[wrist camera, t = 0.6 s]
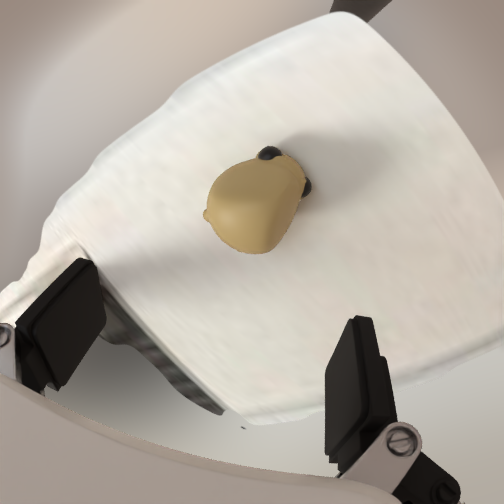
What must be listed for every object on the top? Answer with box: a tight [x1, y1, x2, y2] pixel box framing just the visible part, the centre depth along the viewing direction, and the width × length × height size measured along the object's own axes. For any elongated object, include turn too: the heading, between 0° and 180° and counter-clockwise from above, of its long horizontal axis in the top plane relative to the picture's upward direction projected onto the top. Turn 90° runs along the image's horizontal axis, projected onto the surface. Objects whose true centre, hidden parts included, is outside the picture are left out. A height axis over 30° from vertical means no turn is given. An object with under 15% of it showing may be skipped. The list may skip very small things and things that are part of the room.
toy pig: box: [203, 146, 312, 254], centre depth 33 cm, size 10×12×11 cm
